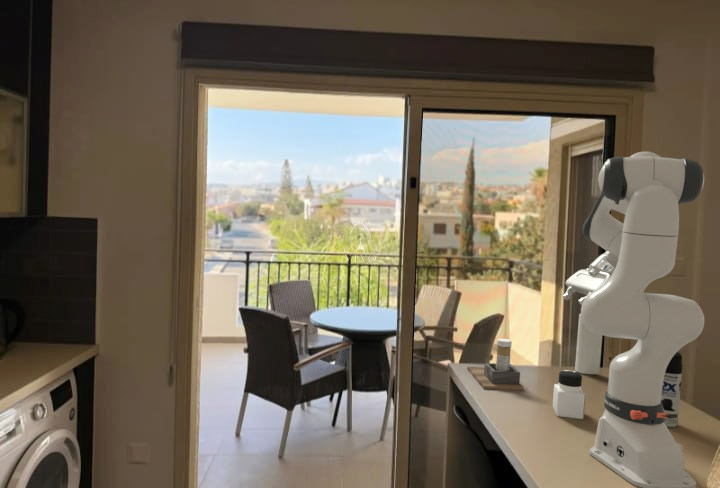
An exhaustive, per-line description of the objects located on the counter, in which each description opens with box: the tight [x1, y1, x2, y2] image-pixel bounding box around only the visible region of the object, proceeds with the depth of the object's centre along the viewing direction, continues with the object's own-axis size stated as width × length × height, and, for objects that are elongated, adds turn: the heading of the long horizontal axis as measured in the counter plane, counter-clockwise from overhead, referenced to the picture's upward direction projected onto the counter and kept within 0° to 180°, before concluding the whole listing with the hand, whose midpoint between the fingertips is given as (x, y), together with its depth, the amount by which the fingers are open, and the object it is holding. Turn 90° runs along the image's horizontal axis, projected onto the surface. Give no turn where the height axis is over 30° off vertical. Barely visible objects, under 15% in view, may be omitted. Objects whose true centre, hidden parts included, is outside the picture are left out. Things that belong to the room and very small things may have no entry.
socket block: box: [466, 362, 525, 391], centre depth 171 cm, size 20×13×5 cm, turn 3°
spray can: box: [661, 351, 683, 429], centre depth 140 cm, size 7×7×20 cm
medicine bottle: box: [552, 369, 586, 420], centre depth 143 cm, size 7×7×12 cm
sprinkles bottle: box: [495, 338, 512, 371], centre depth 168 cm, size 5×5×14 cm
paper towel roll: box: [574, 313, 603, 375], centre depth 183 cm, size 7×6×21 cm
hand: (572, 301), depth 161 cm, fingers open, 8 cm apart
